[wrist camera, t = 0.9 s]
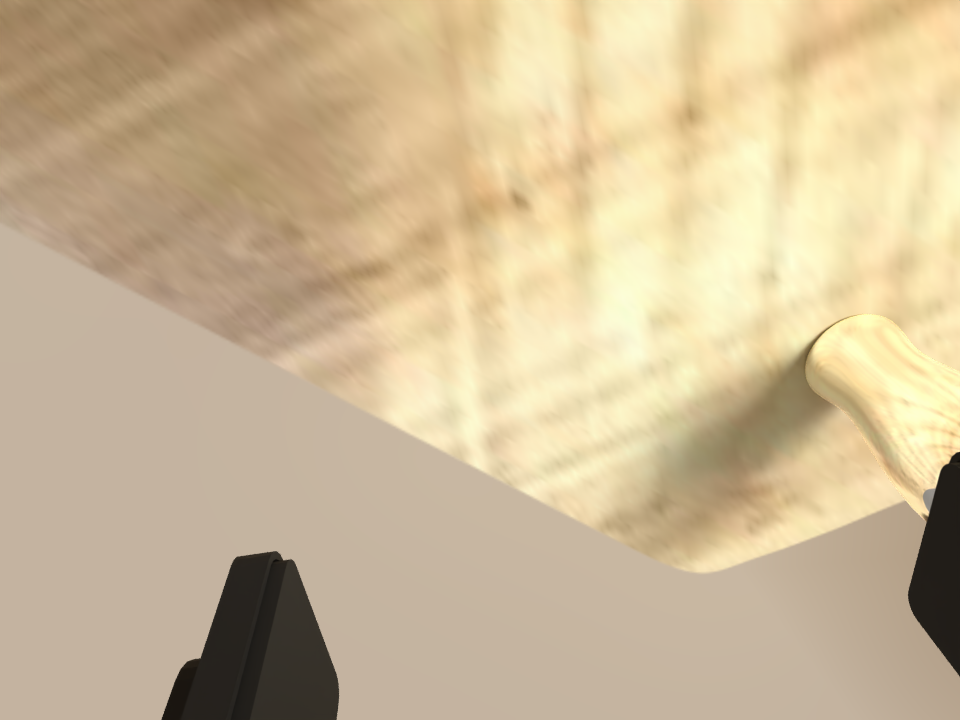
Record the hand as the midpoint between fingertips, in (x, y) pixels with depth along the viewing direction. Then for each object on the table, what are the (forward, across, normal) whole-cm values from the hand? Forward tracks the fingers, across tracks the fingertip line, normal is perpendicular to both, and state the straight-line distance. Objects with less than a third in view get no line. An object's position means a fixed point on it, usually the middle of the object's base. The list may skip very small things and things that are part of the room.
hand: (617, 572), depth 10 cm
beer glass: (+28, -21, +16) cm, 39 cm away
